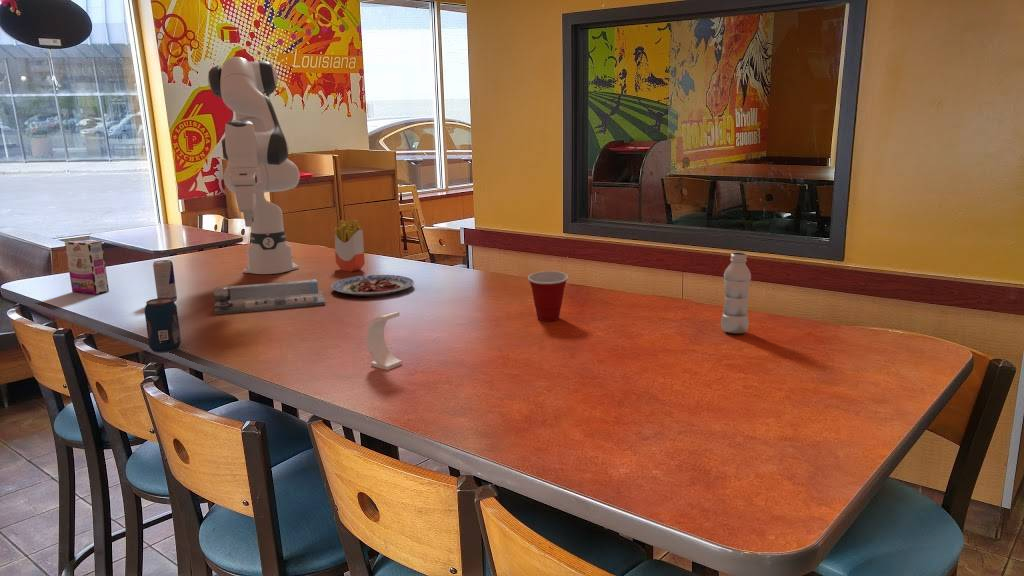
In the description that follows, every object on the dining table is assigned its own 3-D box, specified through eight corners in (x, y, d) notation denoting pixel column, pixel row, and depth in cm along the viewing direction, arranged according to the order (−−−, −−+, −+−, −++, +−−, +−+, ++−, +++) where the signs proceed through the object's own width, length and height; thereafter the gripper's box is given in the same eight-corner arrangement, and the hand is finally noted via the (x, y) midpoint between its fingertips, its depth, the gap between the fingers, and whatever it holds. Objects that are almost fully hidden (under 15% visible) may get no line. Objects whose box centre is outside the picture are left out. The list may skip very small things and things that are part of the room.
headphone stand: (387, 370, 156) (384, 317, 153) (367, 365, 160) (364, 312, 157) (402, 364, 160) (399, 312, 157) (382, 359, 163) (379, 308, 160)
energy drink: (180, 298, 221) (175, 259, 218) (170, 302, 216) (166, 263, 213) (164, 298, 221) (159, 259, 219) (154, 302, 216) (148, 263, 213)
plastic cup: (522, 322, 191) (521, 278, 188) (535, 311, 201) (535, 269, 198) (561, 325, 187) (561, 280, 185) (572, 315, 197) (573, 272, 194)
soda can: (150, 347, 174) (144, 299, 171) (182, 343, 177) (176, 295, 174) (149, 355, 168) (142, 305, 165) (181, 351, 170) (175, 302, 168)
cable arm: (215, 298, 210) (214, 286, 209) (317, 290, 218) (316, 279, 217) (214, 302, 206) (213, 290, 205) (318, 293, 214) (317, 282, 213)
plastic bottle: (734, 338, 175) (739, 257, 171) (714, 331, 181) (719, 252, 177) (753, 334, 178) (759, 254, 174) (733, 327, 184) (738, 250, 180)
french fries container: (355, 272, 254) (351, 222, 249) (335, 269, 260) (332, 219, 256) (365, 270, 257) (362, 220, 253) (345, 267, 264) (342, 218, 260)
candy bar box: (110, 291, 231) (102, 241, 227) (96, 295, 226) (88, 243, 222) (85, 288, 235) (77, 239, 231) (71, 292, 230) (63, 241, 227)
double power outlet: (216, 303, 215) (215, 295, 214) (322, 294, 224) (321, 287, 223) (213, 315, 202) (212, 307, 201) (325, 305, 211) (324, 297, 210)
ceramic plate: (406, 278, 245) (406, 269, 245) (421, 295, 221) (421, 286, 221) (328, 284, 237) (328, 276, 237) (335, 303, 214) (335, 293, 213)
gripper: (236, 175, 218) (241, 221, 221) (230, 179, 199) (235, 229, 202) (258, 174, 220) (262, 220, 223) (254, 178, 201) (259, 228, 204)
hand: (249, 224), depth 212 cm, fingers open, 8 cm apart
